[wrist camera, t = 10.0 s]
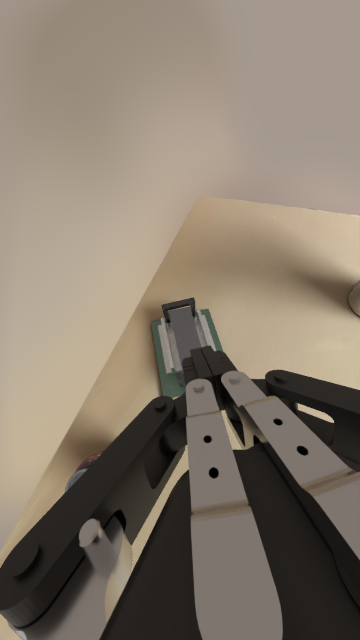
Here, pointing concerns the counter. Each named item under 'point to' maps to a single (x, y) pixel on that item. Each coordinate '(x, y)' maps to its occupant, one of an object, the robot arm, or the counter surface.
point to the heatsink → (167, 345)
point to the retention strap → (184, 332)
